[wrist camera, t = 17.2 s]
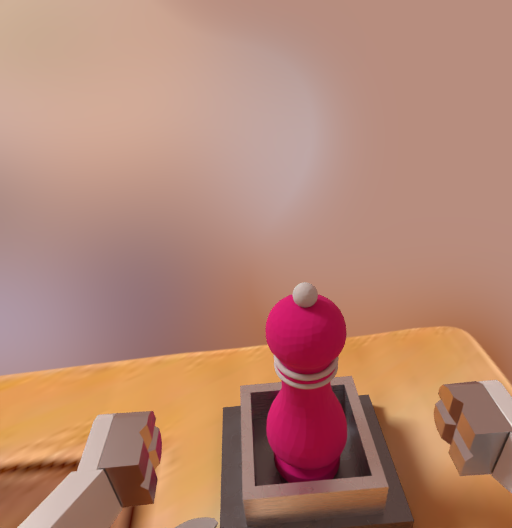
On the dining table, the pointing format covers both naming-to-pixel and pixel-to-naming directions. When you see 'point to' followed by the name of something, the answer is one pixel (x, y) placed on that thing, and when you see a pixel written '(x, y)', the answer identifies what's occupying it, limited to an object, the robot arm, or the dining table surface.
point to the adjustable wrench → (199, 523)
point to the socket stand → (312, 492)
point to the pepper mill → (306, 386)
